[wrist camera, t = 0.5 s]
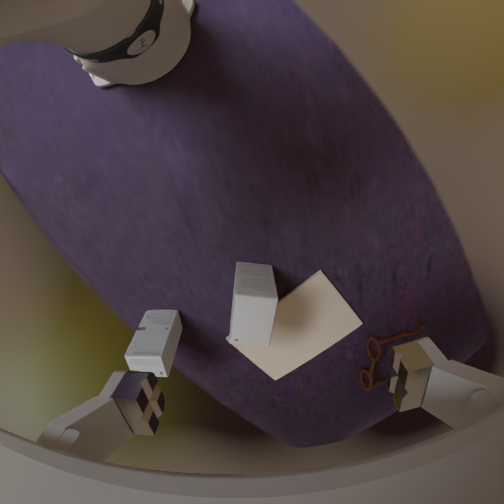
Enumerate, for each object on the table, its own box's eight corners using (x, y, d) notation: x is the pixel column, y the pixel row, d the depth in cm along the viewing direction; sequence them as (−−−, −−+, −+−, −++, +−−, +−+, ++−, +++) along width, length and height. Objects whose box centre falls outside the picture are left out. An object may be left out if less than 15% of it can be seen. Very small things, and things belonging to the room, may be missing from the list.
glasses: (367, 331, 53) (376, 347, 48) (424, 321, 53) (435, 335, 48) (357, 379, 57) (364, 395, 53) (409, 368, 57) (418, 383, 53)
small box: (265, 308, 49) (269, 348, 40) (231, 304, 49) (228, 345, 39) (272, 263, 46) (279, 298, 37) (236, 259, 46) (234, 294, 36)
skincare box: (178, 308, 49) (162, 355, 38) (183, 329, 51) (170, 378, 40) (144, 309, 49) (122, 354, 38) (151, 330, 51) (131, 376, 40)
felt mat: (226, 337, 51) (226, 339, 51) (320, 269, 47) (321, 271, 46) (275, 378, 56) (275, 380, 55) (361, 321, 51) (362, 323, 50)
